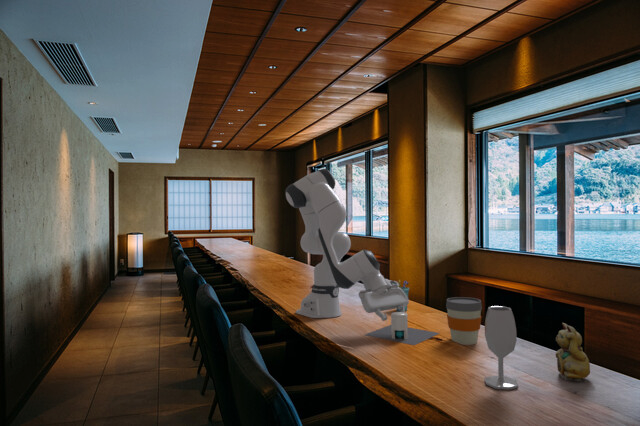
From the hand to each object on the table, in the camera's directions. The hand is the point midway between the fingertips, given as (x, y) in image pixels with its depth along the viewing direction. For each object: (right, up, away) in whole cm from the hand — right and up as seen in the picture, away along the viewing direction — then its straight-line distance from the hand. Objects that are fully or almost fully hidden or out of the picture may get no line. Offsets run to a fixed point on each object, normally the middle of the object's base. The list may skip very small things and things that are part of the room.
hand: (394, 318), depth 172 cm
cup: (+11, -7, +46) cm, 48 cm away
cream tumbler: (+2, -7, -1) cm, 7 cm away
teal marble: (+2, -6, -1) cm, 6 cm away
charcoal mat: (+3, -8, +4) cm, 9 cm away
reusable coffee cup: (+25, -7, -5) cm, 26 cm away
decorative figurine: (+44, -7, -42) cm, 61 cm away
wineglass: (+22, -8, -47) cm, 52 cm away
